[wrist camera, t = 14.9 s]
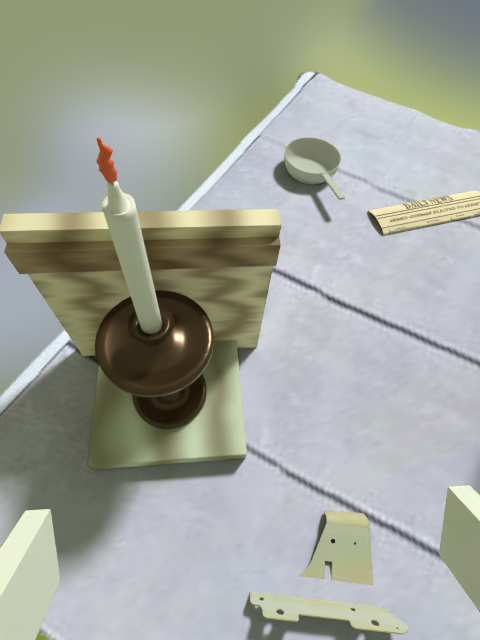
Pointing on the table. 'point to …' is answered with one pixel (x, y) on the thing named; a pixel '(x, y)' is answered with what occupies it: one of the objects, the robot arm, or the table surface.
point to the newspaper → (428, 212)
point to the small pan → (313, 162)
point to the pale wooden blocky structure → (167, 274)
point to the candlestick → (150, 326)
